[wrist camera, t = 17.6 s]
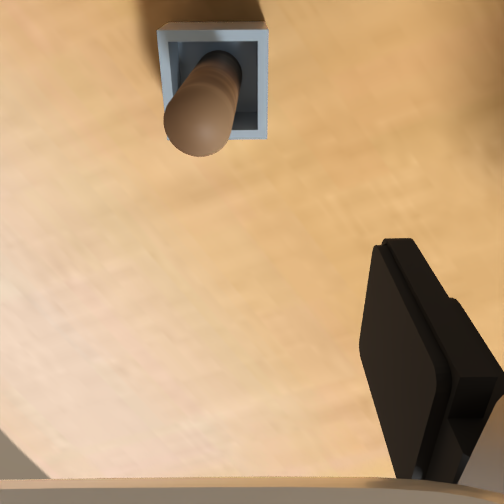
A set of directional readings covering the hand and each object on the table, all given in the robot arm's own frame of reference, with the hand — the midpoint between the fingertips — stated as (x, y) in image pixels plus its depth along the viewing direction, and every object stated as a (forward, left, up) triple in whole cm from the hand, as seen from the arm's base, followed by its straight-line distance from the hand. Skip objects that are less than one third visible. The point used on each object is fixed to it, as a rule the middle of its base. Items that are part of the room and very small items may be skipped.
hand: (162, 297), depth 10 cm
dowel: (0, 0, -26) cm, 26 cm away
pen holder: (0, 0, -26) cm, 26 cm away
